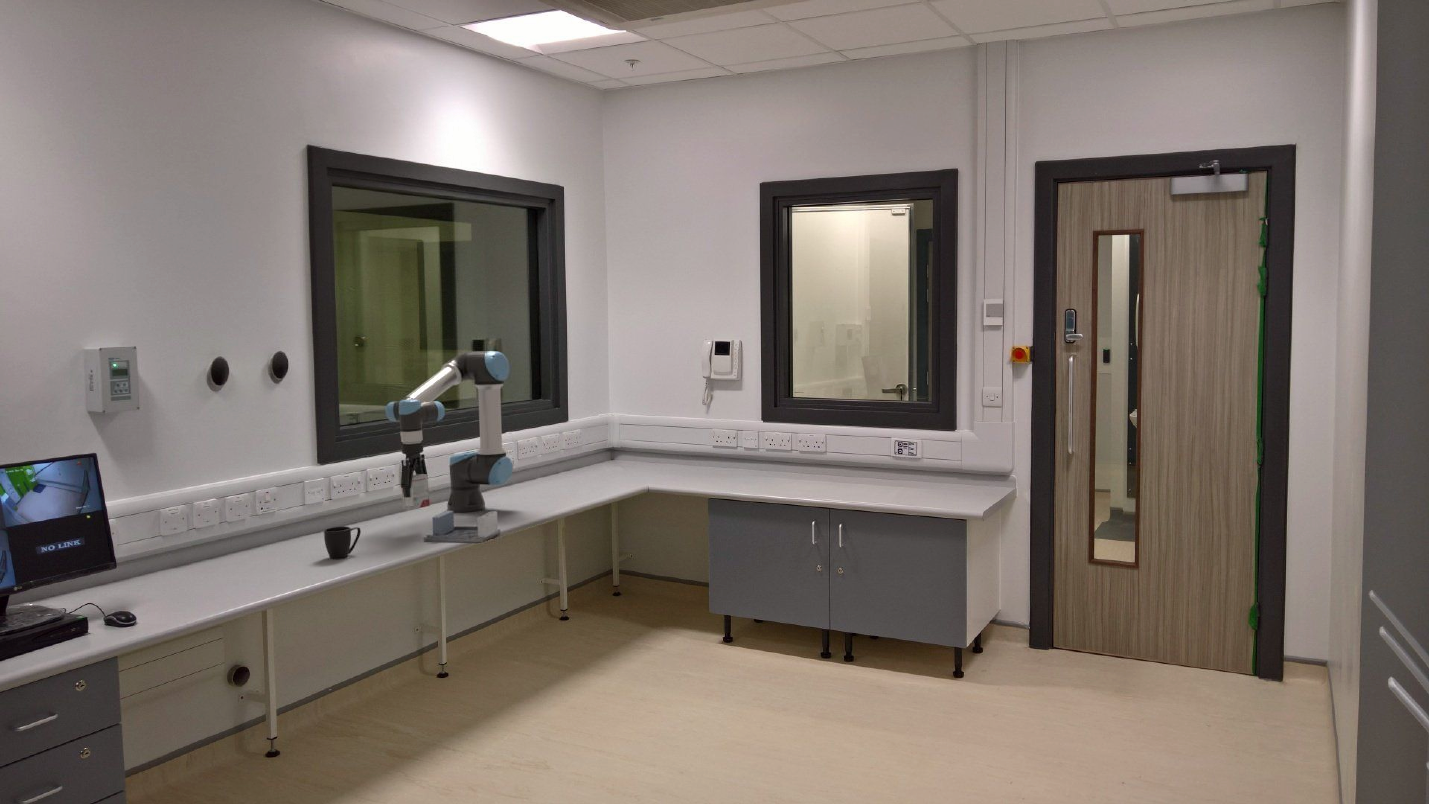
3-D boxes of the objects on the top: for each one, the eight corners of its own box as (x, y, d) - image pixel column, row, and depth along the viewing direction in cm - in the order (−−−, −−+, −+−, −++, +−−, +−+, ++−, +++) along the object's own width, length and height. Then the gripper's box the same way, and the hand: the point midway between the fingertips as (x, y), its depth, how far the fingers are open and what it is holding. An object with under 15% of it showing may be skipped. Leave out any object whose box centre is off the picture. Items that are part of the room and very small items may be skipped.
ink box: (422, 504, 371) (420, 473, 370) (430, 505, 368) (428, 474, 367) (402, 508, 365) (400, 476, 363) (410, 510, 362) (407, 478, 360)
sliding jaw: (447, 529, 365) (446, 510, 365) (454, 529, 365) (453, 511, 364) (433, 536, 354) (432, 517, 353) (439, 536, 353) (439, 517, 353)
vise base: (443, 531, 368) (442, 509, 367) (500, 532, 364) (499, 510, 364) (423, 541, 352) (422, 518, 352) (482, 542, 349) (481, 519, 348)
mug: (367, 554, 334) (365, 526, 333) (332, 561, 325) (330, 532, 325) (355, 551, 340) (354, 523, 339) (321, 557, 331) (319, 529, 330)
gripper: (416, 437, 375) (420, 496, 378) (387, 447, 354) (392, 509, 356) (435, 437, 374) (438, 496, 376) (407, 446, 352) (411, 509, 355)
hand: (416, 502), depth 366 cm, fingers closed on ink box, 9 cm apart
